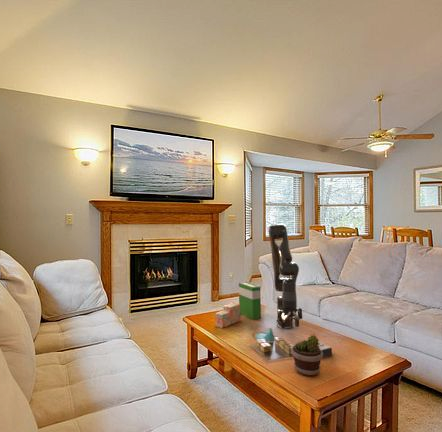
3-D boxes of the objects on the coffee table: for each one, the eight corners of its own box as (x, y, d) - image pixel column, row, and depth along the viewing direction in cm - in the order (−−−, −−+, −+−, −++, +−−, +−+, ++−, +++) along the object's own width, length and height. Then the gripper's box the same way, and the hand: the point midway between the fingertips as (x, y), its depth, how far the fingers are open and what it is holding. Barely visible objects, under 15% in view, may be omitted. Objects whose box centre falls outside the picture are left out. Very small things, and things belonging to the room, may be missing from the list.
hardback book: (239, 313, 239) (238, 282, 239) (247, 311, 242) (246, 281, 242) (252, 319, 223) (252, 287, 223) (260, 318, 226) (260, 286, 226)
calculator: (310, 338, 179) (331, 346, 165) (311, 345, 179) (332, 354, 165) (296, 341, 174) (317, 350, 161) (297, 349, 174) (317, 358, 161)
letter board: (284, 342, 183) (284, 335, 183) (304, 356, 164) (304, 349, 164) (251, 346, 178) (250, 339, 178) (267, 362, 158) (267, 354, 158)
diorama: (263, 331, 201) (263, 319, 201) (284, 343, 183) (284, 329, 183) (248, 335, 196) (248, 322, 196) (268, 347, 178) (268, 332, 178)
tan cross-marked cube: (291, 349, 170) (291, 343, 170) (296, 352, 166) (296, 347, 166) (284, 350, 169) (284, 344, 169) (288, 353, 165) (288, 348, 165)
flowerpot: (285, 370, 149) (284, 330, 149) (302, 361, 159) (301, 323, 159) (312, 383, 138) (311, 339, 138) (329, 372, 147) (328, 331, 147)
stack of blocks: (222, 328, 207) (222, 310, 207) (215, 326, 211) (215, 308, 211) (240, 320, 222) (240, 303, 222) (233, 318, 227) (233, 302, 227)
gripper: (281, 301, 163) (282, 331, 163) (304, 299, 166) (305, 328, 166) (274, 298, 170) (275, 326, 170) (296, 295, 173) (297, 323, 174)
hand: (290, 327), depth 168 cm, fingers open, 8 cm apart
